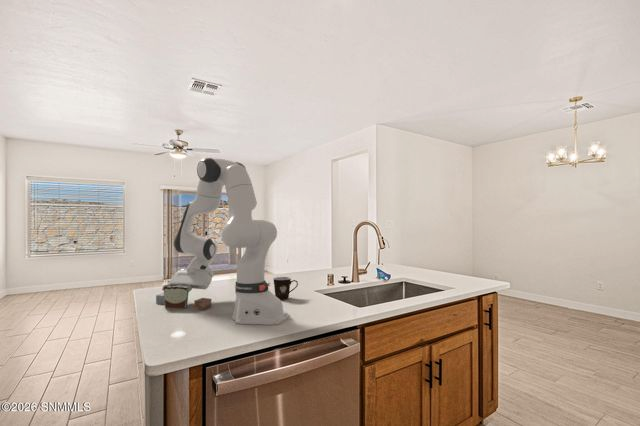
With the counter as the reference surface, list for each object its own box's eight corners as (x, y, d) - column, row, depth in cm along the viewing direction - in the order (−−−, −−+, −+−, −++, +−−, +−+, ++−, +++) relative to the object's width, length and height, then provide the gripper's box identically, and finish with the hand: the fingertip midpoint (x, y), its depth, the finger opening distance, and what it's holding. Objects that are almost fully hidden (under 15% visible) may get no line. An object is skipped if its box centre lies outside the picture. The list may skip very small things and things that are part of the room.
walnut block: (211, 307, 136) (211, 298, 136) (203, 310, 132) (203, 301, 132) (202, 306, 138) (202, 297, 138) (194, 309, 133) (194, 300, 133)
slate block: (172, 301, 146) (172, 293, 146) (164, 304, 142) (164, 295, 142) (164, 301, 148) (164, 292, 148) (156, 303, 143) (156, 295, 143)
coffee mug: (270, 300, 148) (271, 279, 148) (276, 296, 157) (276, 276, 157) (294, 301, 146) (294, 280, 146) (298, 297, 155) (298, 277, 155)
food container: (195, 305, 140) (195, 283, 140) (188, 309, 134) (188, 286, 134) (170, 304, 141) (170, 282, 141) (161, 308, 135) (162, 285, 135)
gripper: (175, 265, 150) (159, 289, 140) (211, 267, 144) (196, 292, 134) (182, 272, 154) (167, 297, 144) (217, 275, 148) (203, 300, 138)
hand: (181, 295), depth 139 cm, fingers closed
